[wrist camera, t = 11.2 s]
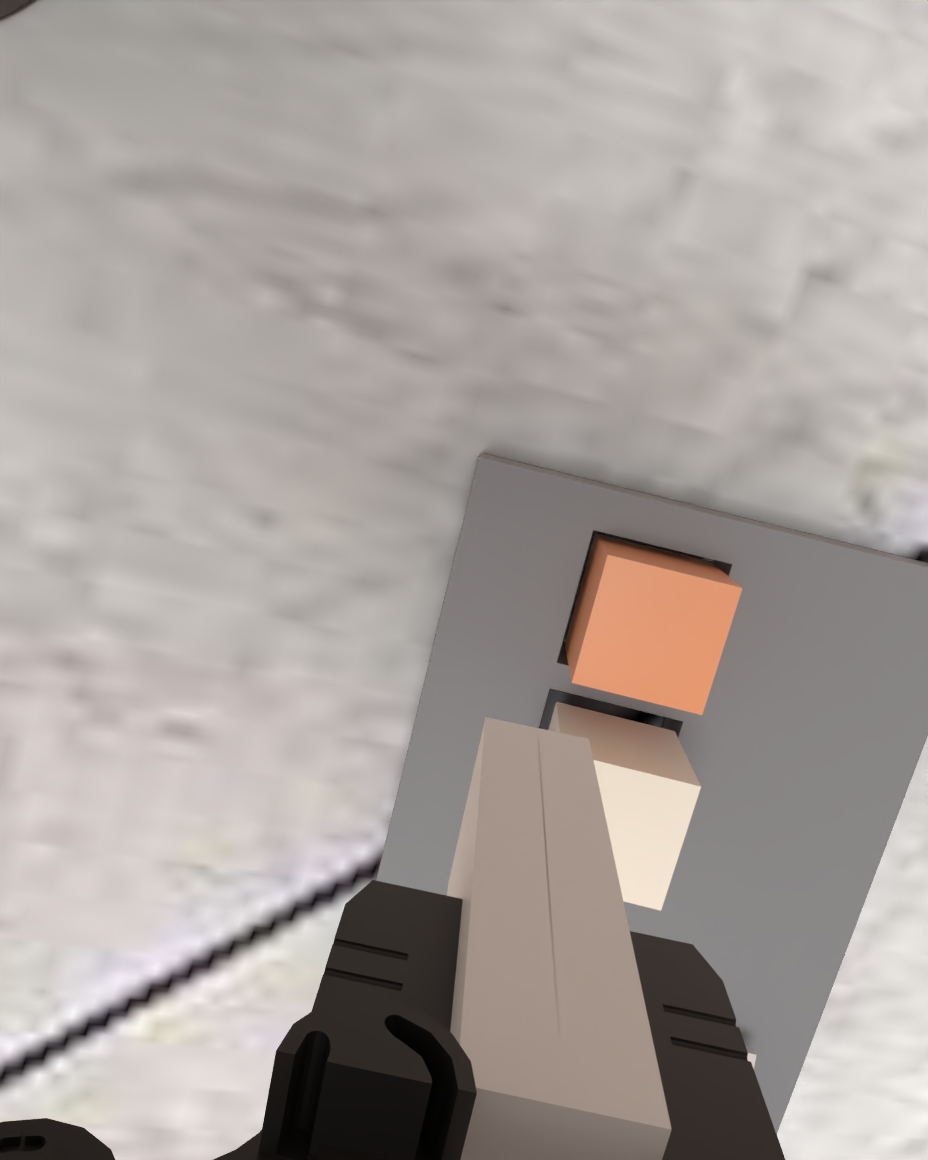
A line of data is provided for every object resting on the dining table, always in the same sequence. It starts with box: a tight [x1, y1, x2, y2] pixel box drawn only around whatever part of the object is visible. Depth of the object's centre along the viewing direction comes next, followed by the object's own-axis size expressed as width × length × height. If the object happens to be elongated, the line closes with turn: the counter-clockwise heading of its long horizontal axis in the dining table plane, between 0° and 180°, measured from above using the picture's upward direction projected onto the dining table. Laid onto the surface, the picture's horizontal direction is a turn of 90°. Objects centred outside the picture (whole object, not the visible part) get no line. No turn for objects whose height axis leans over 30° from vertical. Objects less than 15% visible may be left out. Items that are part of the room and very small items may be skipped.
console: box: [376, 453, 928, 1134], centre depth 34 cm, size 32×18×4 cm, turn 166°
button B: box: [548, 702, 701, 911], centre depth 30 cm, size 4×4×5 cm
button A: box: [565, 533, 742, 715], centre depth 30 cm, size 4×4×5 cm
